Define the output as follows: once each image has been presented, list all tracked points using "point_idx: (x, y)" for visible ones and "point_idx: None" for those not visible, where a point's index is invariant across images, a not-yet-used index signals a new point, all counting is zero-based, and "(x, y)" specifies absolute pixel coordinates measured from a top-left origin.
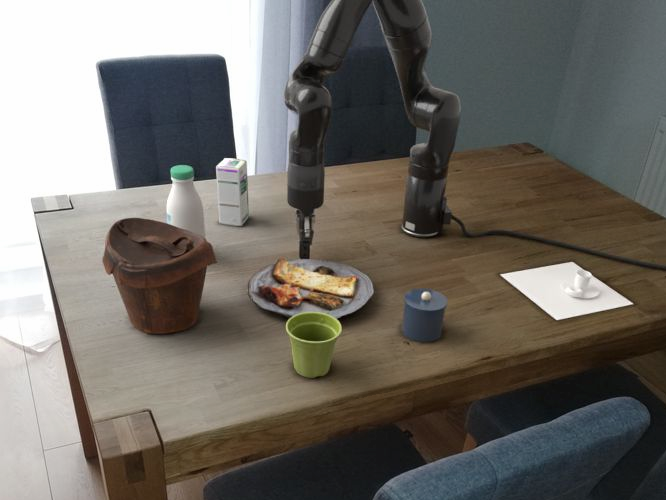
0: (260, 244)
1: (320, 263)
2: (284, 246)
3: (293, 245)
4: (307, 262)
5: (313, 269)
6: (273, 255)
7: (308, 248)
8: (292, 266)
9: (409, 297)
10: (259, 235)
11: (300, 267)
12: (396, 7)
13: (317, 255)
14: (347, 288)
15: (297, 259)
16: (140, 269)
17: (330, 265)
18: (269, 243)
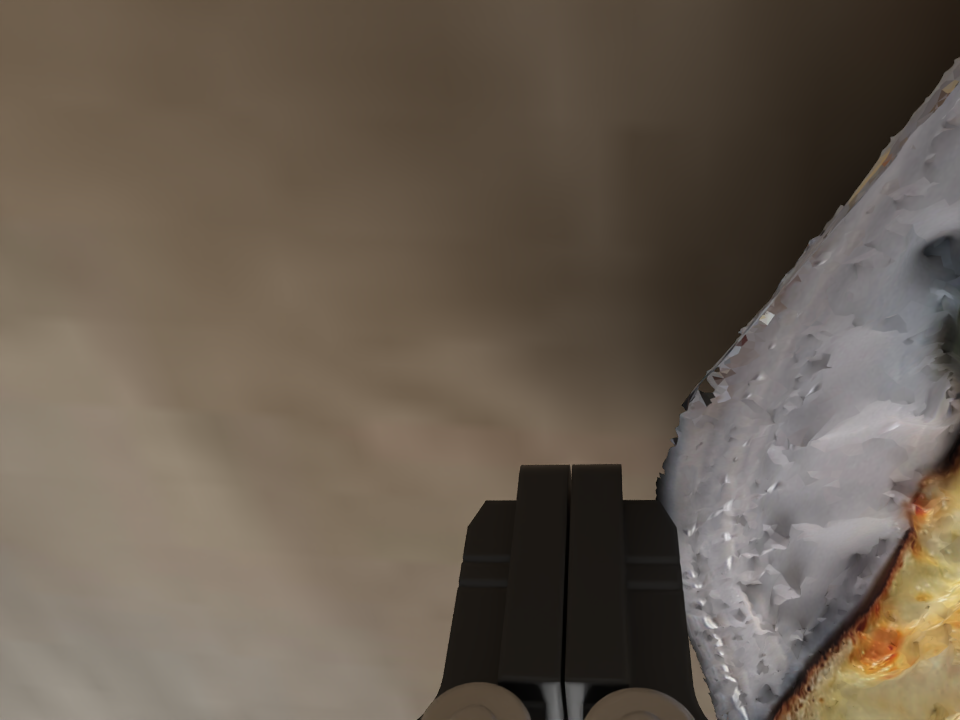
0: (186, 715)
1: (818, 328)
2: (154, 570)
3: (96, 499)
4: (762, 495)
5: (931, 406)
6: (382, 658)
7: (630, 619)
8: (905, 667)
9: None
10: (18, 708)
11: (819, 540)
12: None
13: (276, 264)
14: None
15: None
16: None
17: (936, 161)
18: (140, 664)
